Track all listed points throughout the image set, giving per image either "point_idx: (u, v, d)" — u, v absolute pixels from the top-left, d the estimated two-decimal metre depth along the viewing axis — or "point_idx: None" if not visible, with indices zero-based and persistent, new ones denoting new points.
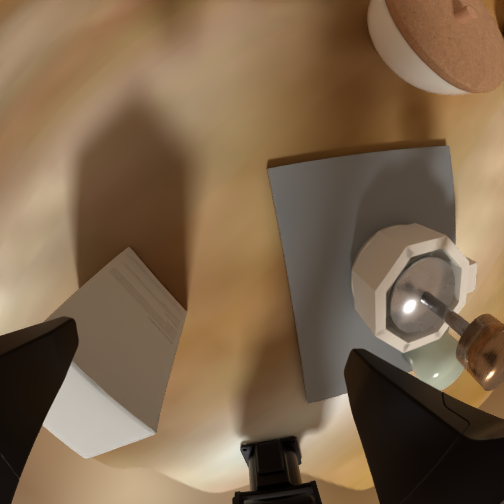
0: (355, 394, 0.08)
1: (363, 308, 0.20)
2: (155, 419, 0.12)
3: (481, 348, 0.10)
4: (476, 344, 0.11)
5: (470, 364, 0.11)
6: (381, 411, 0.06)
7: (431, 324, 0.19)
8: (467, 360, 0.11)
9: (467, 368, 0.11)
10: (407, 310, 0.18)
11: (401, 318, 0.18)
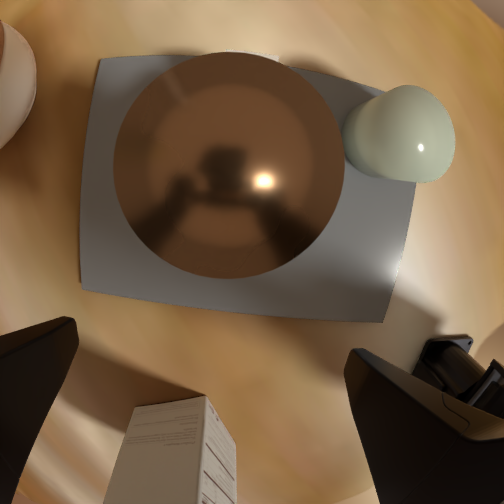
0: (355, 394, 0.08)
1: None
2: None
3: None
4: None
5: None
6: (381, 411, 0.06)
7: None
8: None
9: None
10: None
11: None
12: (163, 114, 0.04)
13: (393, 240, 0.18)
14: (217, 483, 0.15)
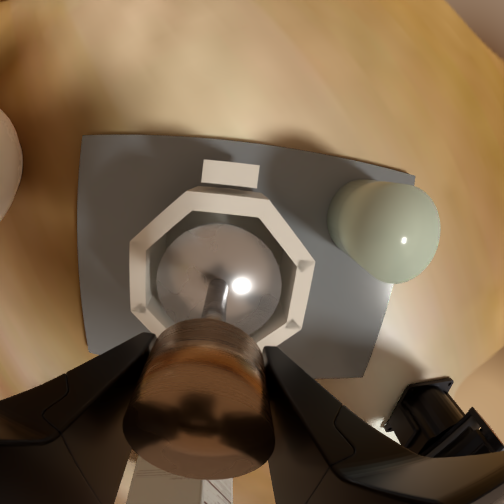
0: None
1: None
2: None
3: None
4: None
5: None
6: (275, 417, 0.06)
7: (276, 276, 0.13)
8: None
9: None
10: (227, 318, 0.14)
11: None
12: (150, 421, 0.05)
13: (374, 309, 0.20)
14: None
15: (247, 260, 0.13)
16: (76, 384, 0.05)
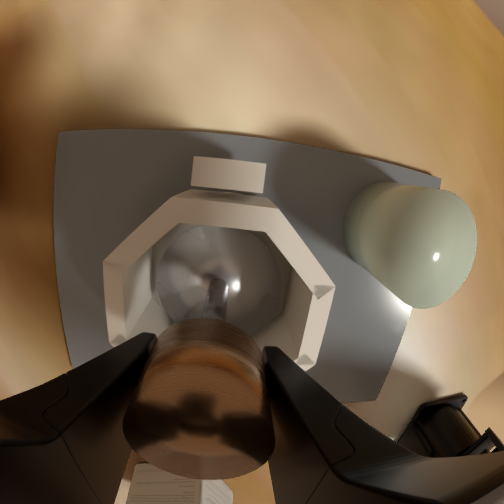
0: None
1: None
2: None
3: None
4: None
5: None
6: (275, 417, 0.06)
7: (276, 276, 0.13)
8: None
9: None
10: (227, 318, 0.14)
11: None
12: (149, 421, 0.05)
13: (392, 329, 0.17)
14: None
15: (247, 260, 0.13)
16: (76, 384, 0.05)
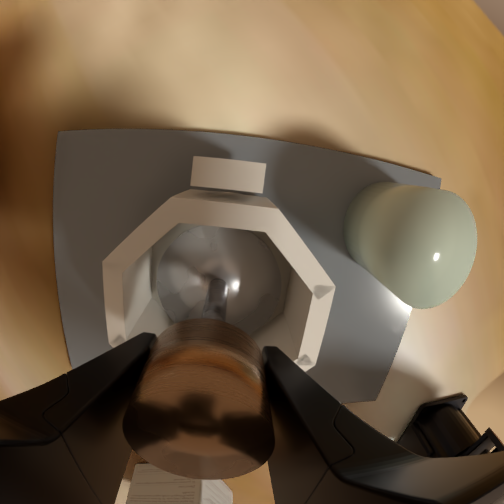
0: None
1: None
2: None
3: None
4: None
5: None
6: (275, 417, 0.06)
7: (276, 276, 0.13)
8: None
9: None
10: (227, 318, 0.14)
11: None
12: (149, 421, 0.05)
13: (392, 330, 0.17)
14: None
15: (247, 260, 0.13)
16: (76, 384, 0.05)
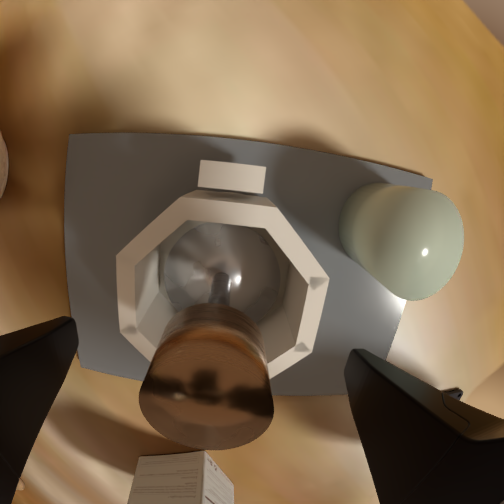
0: (355, 394, 0.08)
1: None
2: None
3: None
4: None
5: None
6: (381, 411, 0.06)
7: (275, 270, 0.15)
8: None
9: None
10: None
11: None
12: (164, 390, 0.06)
13: (386, 323, 0.18)
14: None
15: (248, 255, 0.14)
16: None
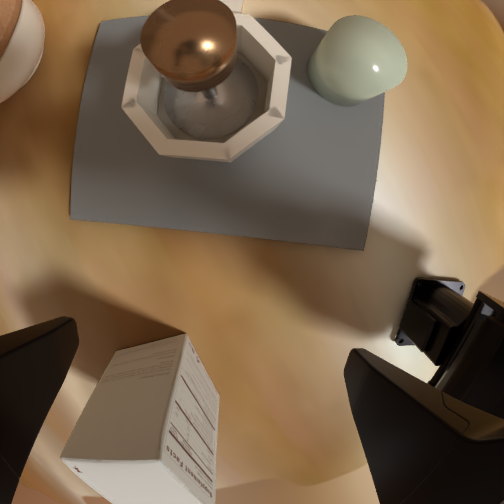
0: (355, 394, 0.08)
1: (209, 159, 0.16)
2: (155, 449, 0.11)
3: (159, 71, 0.09)
4: (162, 75, 0.09)
5: (186, 82, 0.09)
6: (381, 411, 0.06)
7: (254, 85, 0.16)
8: (185, 84, 0.09)
9: (202, 81, 0.09)
10: (215, 117, 0.16)
11: (223, 125, 0.16)
12: (163, 16, 0.07)
13: (365, 164, 0.19)
14: (192, 422, 0.16)
15: (232, 73, 0.15)
16: None
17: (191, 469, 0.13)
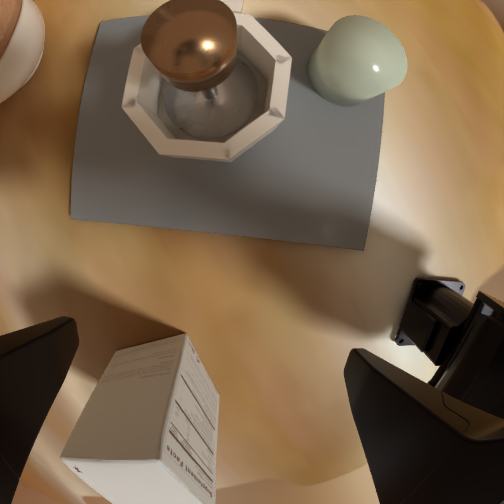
0: (355, 394, 0.08)
1: (210, 159, 0.16)
2: (155, 448, 0.11)
3: (159, 71, 0.09)
4: (162, 75, 0.09)
5: (186, 82, 0.09)
6: (381, 411, 0.06)
7: (254, 85, 0.16)
8: (186, 84, 0.09)
9: (202, 81, 0.09)
10: (216, 117, 0.16)
11: (223, 125, 0.16)
12: (163, 16, 0.07)
13: (365, 164, 0.19)
14: (192, 422, 0.16)
15: (232, 73, 0.15)
16: None
17: (192, 468, 0.13)
